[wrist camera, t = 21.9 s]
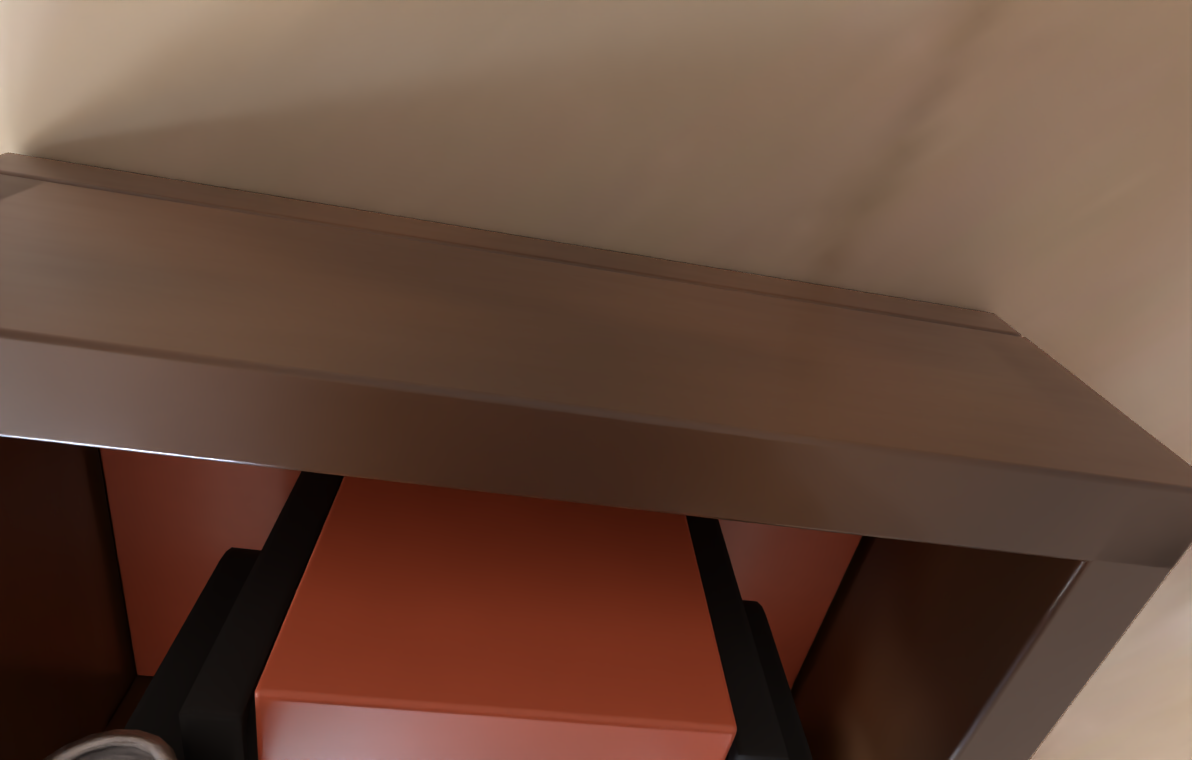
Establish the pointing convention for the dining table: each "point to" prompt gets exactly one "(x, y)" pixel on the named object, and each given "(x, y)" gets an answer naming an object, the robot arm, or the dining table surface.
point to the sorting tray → (551, 447)
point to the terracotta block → (494, 635)
